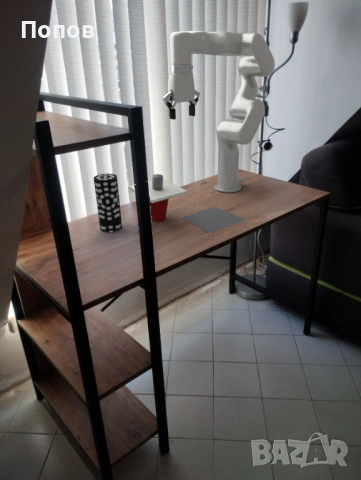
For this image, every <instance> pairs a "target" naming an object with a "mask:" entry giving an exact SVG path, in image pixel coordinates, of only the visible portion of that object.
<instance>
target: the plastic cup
mask: <svg viewBox="0 0 361 480" xmlns="http://www.w3.org/2000/svg"><path fill="white" fill-rule="evenodd" d="M169 200H170V198H168V199H165V200H161V201H158V202H154V203H152V202H150V206H151V216H152V220H151V221H153V222H158V223H159V222H164V221H165V220H166V219H167V212H168V205H169Z"/></svg>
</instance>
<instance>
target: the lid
mask: <svg viewBox="0 0 361 480" xmlns="http://www.w3.org/2000/svg"><path fill="white" fill-rule="evenodd" d="M147 182H148V183H149V195H150V202H152V203H154V202H158V201H161V200H165V199H168V198H169V199H171V198H175V197H179V196H182V195H187V194H188V190H186V189H184V188H183V187H180V186H178V185H177V184H174V183H172V182H171V181H169V180H166V179H165V178H164V176H163V174H158V173H157V174H156V173H155V174H152V179H151V180H149V181H147ZM134 185H135V184H132V185H128V187H127V188H128V190H130V191H131V192H133V193H135V188H134Z"/></svg>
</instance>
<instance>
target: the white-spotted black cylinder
mask: <svg viewBox="0 0 361 480" xmlns="http://www.w3.org/2000/svg"><path fill="white" fill-rule="evenodd" d="M93 185H94V191H95V192H94V193H95V200H96V207H97V209H96V210H97V216H98V221H99V222H98V224H99V230H100V231H101V232H104V233H116V232H118V231H120V230H122V228H123V222H122V212H121V203H120V202H121V201H120V193H119V183H118V175H117V174H115V173H101V174H97V175H94V176H93ZM115 231H116V232H115Z"/></svg>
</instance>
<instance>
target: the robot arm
mask: <svg viewBox="0 0 361 480" xmlns="http://www.w3.org/2000/svg"><path fill="white" fill-rule="evenodd" d="M169 38H170V39H169V41H170V42H169V44H170V45H169V47H170V69H171V70H170V72H171V73H170V74H169V77H168V81H167V93H166V94H165V95H164V96H162V99H163V102H164V104H165V106H166V107H167V108H168V116H169V120H173V121H174V120H175V121H176V119H177V113H176V108H175V107H176V105H177V104H179V103H186V102H187V103H189V105H188V116H190V117H196V106H197V103H198V102H199V98H200V96H201V92H199V91H198V90H196V89H195V88H196V87H195V79H194V74H193V73H192V71H193V69H194V66H193V65H192V55H207V56H215V57H217V56H219V57H220V56H221V57H222V56H223V57H226V56H227V57H228V56H229V57H240V58H239V60H238V62H237V71H238V75H239V76H238V77H239V86H238V89H237V92H236V93H235V96H234V98H233V100H232V102H231V105H230V107H229V111H228V113H229V116H230V117H231V118H232V119H229V118H226V119H222V120H221V121H220V122H218V124H217V126H216V130H215V131H216V132H215V134H216V138H217V139H216V140H217V147H218V148H217V151H218V152H217V183H215V184H214V186H213V189H214V190H215V191H217V192H220V193H227V194H228V193H236V192H239V191H241V189H242V186H241V185H240V183H242V182H245V177H244V176H242V177H239V167H240V166H239V164H240V149H239V145H245V146H246V145H248V144H251V142H252V141H253V139H254V138H255V136H256V133H257V132H258V130H259V127H260V125H261V124H262V121H263V119H264V117H265V116H264V115H265V112H266V111H265V109H266V107H265V103H264V101H262V99H259V98H257V95H258V93H259V92H258V91H259V88H258V87H259V86H258V82H257V80H256V77H262V78H263V77H269V76H271V74H273V73H274V71H275V67H276V64H275V62H276V61H275V58H274V56H273V53H272V52H271V50H270V47H269V45H268V43H267V42H266V39H265V38H264V36H263V35H262V34H260V33H259V32H231V31H230V32H229V31H209V32H206V31H205V30H187V31H173V32H171V33H170V35H169Z"/></svg>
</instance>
